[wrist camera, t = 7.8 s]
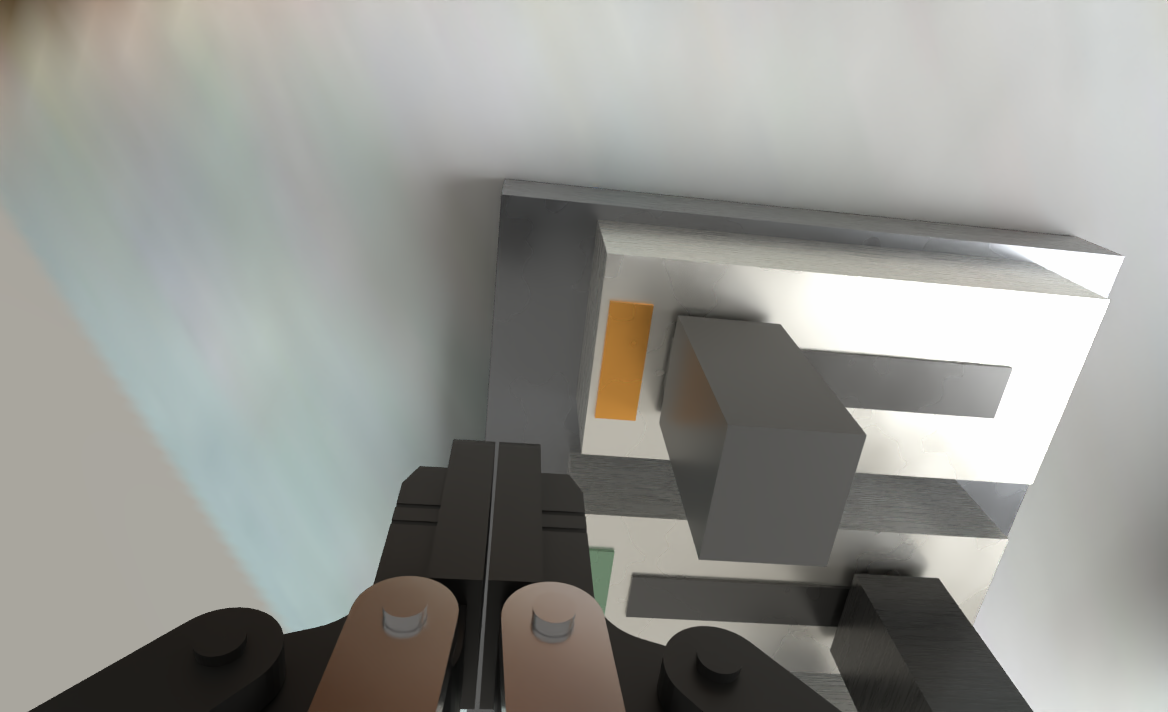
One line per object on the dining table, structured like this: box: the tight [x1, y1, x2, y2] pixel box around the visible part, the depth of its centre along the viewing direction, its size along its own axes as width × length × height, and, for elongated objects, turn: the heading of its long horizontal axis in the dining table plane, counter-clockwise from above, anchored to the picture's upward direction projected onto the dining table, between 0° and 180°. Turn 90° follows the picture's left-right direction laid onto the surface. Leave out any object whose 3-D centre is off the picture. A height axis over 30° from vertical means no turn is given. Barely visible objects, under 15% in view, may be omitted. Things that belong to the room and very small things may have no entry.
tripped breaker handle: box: [659, 315, 867, 567], centre depth 15 cm, size 3×2×5 cm
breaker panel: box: [467, 179, 1125, 712], centre depth 21 cm, size 20×17×10 cm
